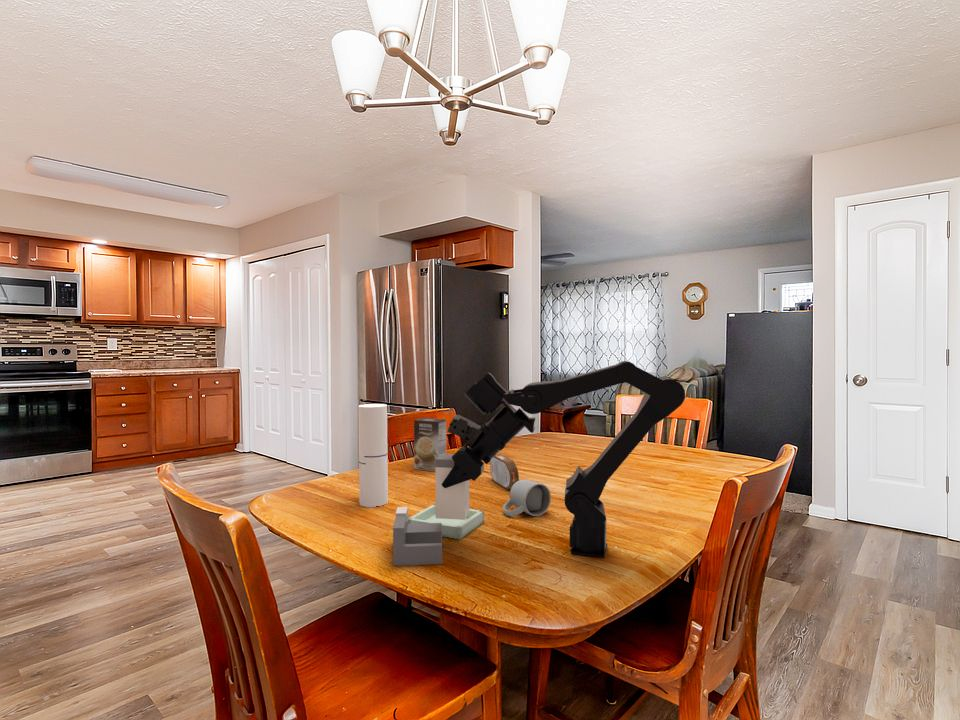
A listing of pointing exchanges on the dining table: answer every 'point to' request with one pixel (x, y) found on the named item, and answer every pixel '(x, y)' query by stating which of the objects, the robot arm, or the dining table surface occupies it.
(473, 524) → the tray
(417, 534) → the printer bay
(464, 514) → the block
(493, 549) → the dining table surface
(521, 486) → the ceramic mug
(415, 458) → the coffee box
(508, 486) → the tin
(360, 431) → the cylindrical container
